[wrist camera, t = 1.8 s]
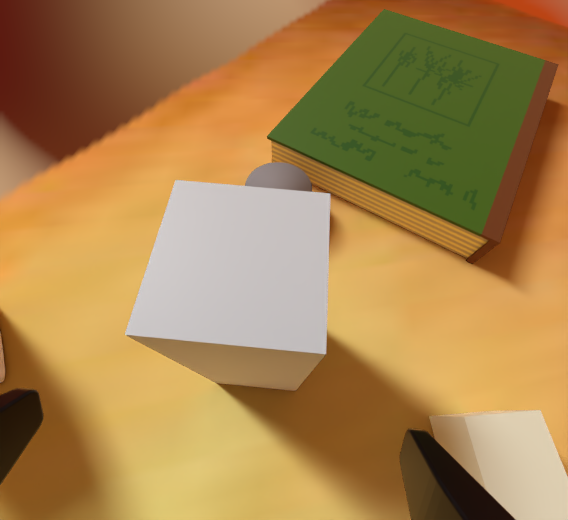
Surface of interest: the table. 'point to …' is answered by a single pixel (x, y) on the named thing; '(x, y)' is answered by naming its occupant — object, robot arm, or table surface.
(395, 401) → the table surface
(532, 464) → the cream block
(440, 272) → the table surface
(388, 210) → the hardcover book
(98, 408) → the table surface
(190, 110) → the table surface
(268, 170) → the grey rounded dome
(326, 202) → the light grey block
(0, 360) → the skincare box
